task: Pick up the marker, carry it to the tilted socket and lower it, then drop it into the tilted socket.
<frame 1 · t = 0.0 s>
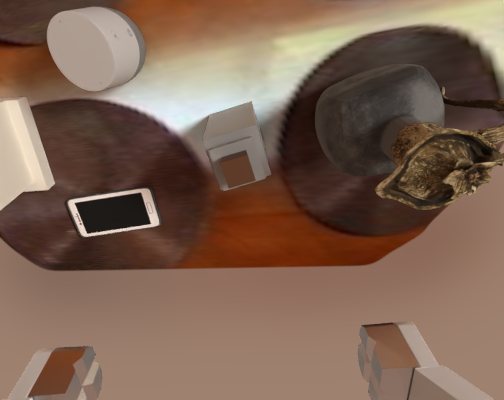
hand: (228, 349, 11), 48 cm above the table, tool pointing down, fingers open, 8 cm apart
cell phone: (116, 210, 63), on the table
perfume bottle: (237, 128, 57), on the table
dark decorative bottle: (365, 100, 56), on the table
tilted socket: (5, 144, 57), on the table
smart speaker: (116, 45, 51), on the table
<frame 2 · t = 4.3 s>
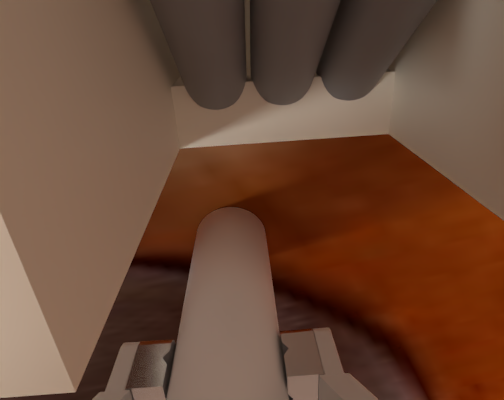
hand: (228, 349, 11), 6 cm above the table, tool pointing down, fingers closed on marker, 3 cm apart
marker: (231, 237, 17), on the table, touching gripper
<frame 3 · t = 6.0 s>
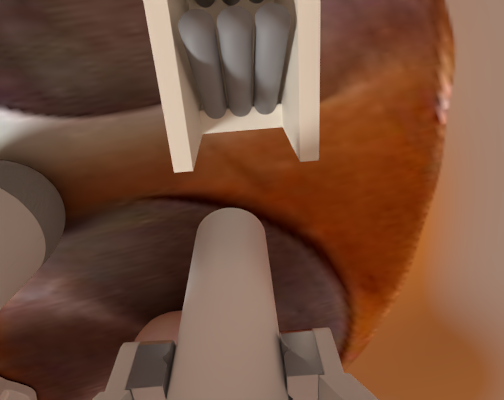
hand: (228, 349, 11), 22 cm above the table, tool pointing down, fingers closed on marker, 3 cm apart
marker: (231, 238, 17), point 15 cm above the table, touching gripper
tilted socket: (232, 19, 27), on the table
decorative fruit: (183, 315, 39), on the table
smart speaker: (21, 200, 32), on the table
when the fingers open (15 cm above the table, at t = 7.9 s): marker drops 5 cm and tips over, resting on tilted socket.
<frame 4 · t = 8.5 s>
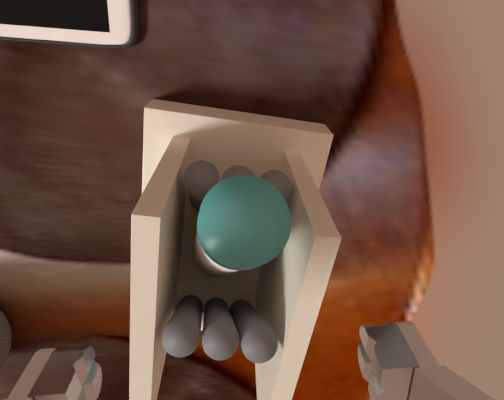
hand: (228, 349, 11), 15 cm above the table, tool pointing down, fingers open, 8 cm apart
marker: (217, 251, 24), point 4 cm above the table, tilted 41°, touching tilted socket
tilted socket: (227, 208, 26), on the table
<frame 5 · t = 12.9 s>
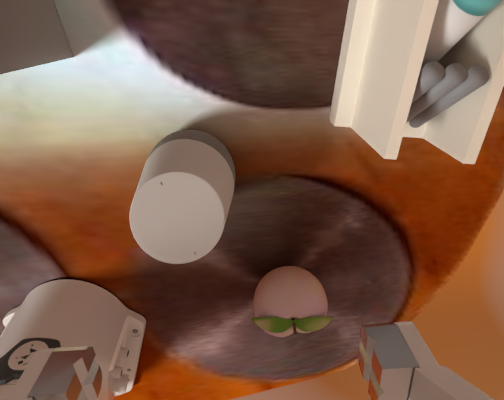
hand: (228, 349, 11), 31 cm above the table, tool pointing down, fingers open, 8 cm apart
marker: (400, 74, 34), point 4 cm above the table, tilted 41°, touching tilted socket
perfume bottle: (26, 25, 35), on the table
tilted socket: (393, 55, 37), on the table
decorative fruit: (283, 273, 49), on the table
smart speaker: (194, 163, 42), on the table
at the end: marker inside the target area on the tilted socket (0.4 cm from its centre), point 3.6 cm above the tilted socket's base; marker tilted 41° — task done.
